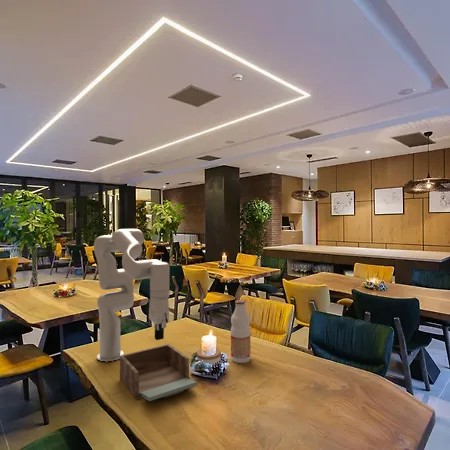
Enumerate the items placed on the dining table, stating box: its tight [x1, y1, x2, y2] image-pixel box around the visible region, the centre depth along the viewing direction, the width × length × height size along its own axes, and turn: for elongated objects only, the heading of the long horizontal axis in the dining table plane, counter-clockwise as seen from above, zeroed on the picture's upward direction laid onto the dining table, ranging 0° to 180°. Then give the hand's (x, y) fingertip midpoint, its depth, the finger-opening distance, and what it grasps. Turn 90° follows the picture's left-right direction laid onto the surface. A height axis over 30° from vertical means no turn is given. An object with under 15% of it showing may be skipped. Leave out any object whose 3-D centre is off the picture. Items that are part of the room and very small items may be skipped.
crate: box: [119, 343, 191, 400], centre depth 133 cm, size 21×22×10 cm
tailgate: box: [141, 378, 198, 402], centre depth 122 cm, size 2×19×8 cm
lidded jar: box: [196, 348, 222, 364], centre depth 144 cm, size 11×11×9 cm
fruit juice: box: [230, 299, 252, 364], centre depth 154 cm, size 9×9×28 cm
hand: (159, 338), depth 129 cm, fingers closed
